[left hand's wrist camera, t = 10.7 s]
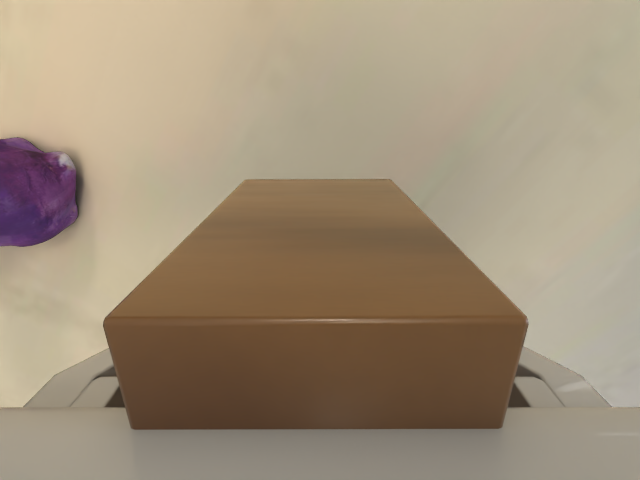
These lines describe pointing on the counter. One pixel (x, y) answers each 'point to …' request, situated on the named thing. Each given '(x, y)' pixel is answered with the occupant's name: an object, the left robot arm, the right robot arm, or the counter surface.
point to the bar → (316, 319)
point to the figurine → (34, 193)
